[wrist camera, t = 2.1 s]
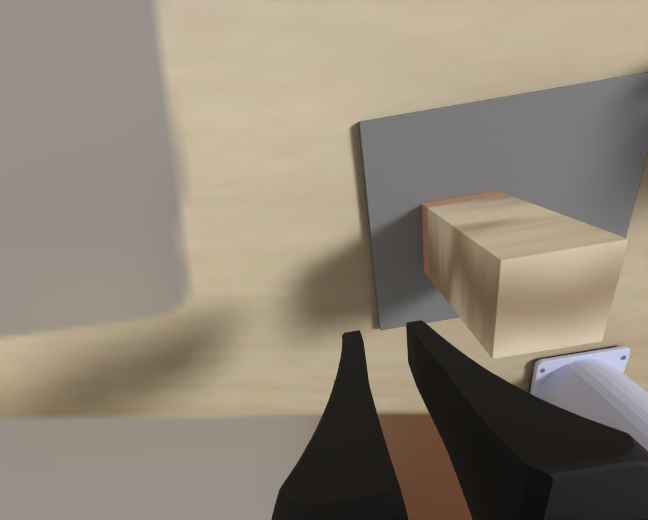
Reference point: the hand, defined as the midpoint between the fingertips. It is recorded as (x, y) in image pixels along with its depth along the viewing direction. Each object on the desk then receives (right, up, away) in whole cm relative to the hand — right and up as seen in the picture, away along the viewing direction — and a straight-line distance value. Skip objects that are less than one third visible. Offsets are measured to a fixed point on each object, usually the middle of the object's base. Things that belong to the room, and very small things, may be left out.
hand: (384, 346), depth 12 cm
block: (+7, +5, +9) cm, 12 cm away
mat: (+10, +6, +9) cm, 15 cm away
